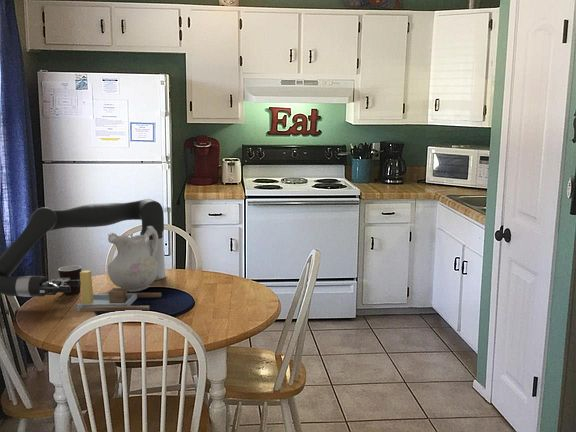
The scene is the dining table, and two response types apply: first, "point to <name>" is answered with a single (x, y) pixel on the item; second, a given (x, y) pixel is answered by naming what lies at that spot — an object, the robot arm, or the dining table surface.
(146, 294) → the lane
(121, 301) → the block
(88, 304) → the shallow grey tray
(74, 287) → the coffee mug
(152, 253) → the ceramic pitcher
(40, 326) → the dining table surface
